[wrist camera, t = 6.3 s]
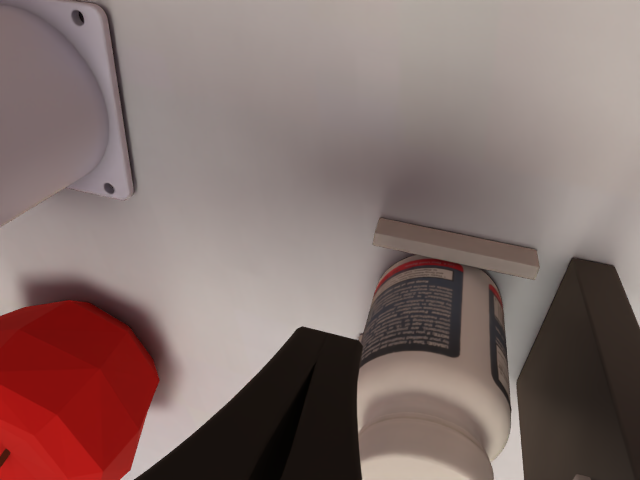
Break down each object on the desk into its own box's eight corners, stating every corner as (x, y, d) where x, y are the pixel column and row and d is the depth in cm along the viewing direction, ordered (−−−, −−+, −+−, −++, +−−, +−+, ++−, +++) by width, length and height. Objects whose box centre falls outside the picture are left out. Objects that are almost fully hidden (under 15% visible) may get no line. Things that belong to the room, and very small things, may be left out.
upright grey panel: (358, 343, 23) (292, 565, 15) (379, 217, 19) (306, 424, 11) (550, 391, 21) (593, 670, 13) (615, 265, 18) (732, 549, 10)
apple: (192, 424, 31) (89, 602, 23) (50, 385, 33) (-91, 533, 25) (170, 294, 25) (21, 469, 17) (0, 256, 27) (-206, 395, 19)
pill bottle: (353, 304, 22) (292, 486, 15) (422, 226, 19) (386, 405, 12) (449, 366, 22) (435, 573, 15) (531, 298, 19) (563, 516, 12)
